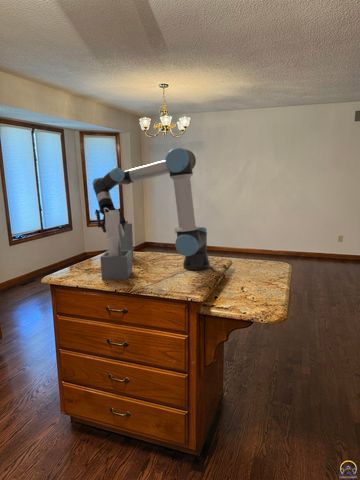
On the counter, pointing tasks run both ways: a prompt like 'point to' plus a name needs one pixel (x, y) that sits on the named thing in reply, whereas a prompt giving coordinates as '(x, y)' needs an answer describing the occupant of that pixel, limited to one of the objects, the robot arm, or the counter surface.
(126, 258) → the grey open box
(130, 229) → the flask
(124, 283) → the counter surface
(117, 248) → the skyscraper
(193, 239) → the robot arm
